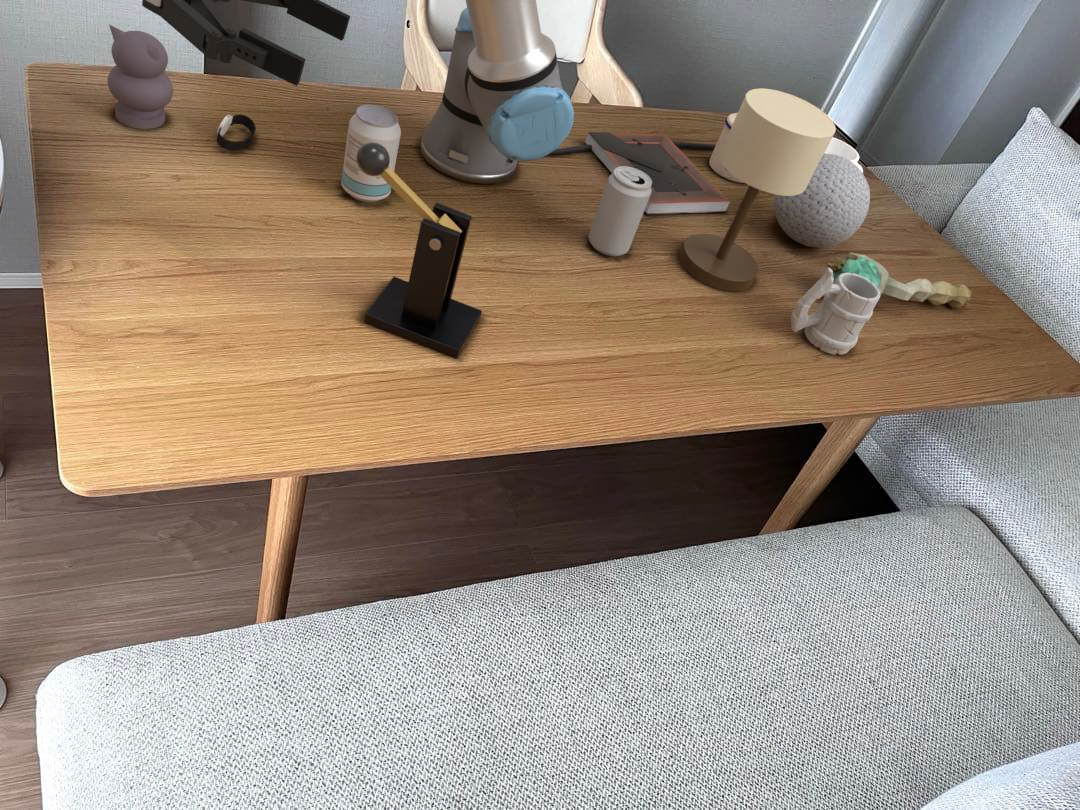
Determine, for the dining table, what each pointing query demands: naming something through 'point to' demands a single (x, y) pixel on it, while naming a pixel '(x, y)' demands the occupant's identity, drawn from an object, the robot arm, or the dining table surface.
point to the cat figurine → (139, 79)
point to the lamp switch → (396, 181)
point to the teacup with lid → (715, 157)
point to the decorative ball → (826, 204)
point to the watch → (227, 123)
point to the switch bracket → (430, 290)
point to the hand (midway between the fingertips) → (325, 49)
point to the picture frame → (660, 172)
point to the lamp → (759, 176)
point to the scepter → (890, 287)
